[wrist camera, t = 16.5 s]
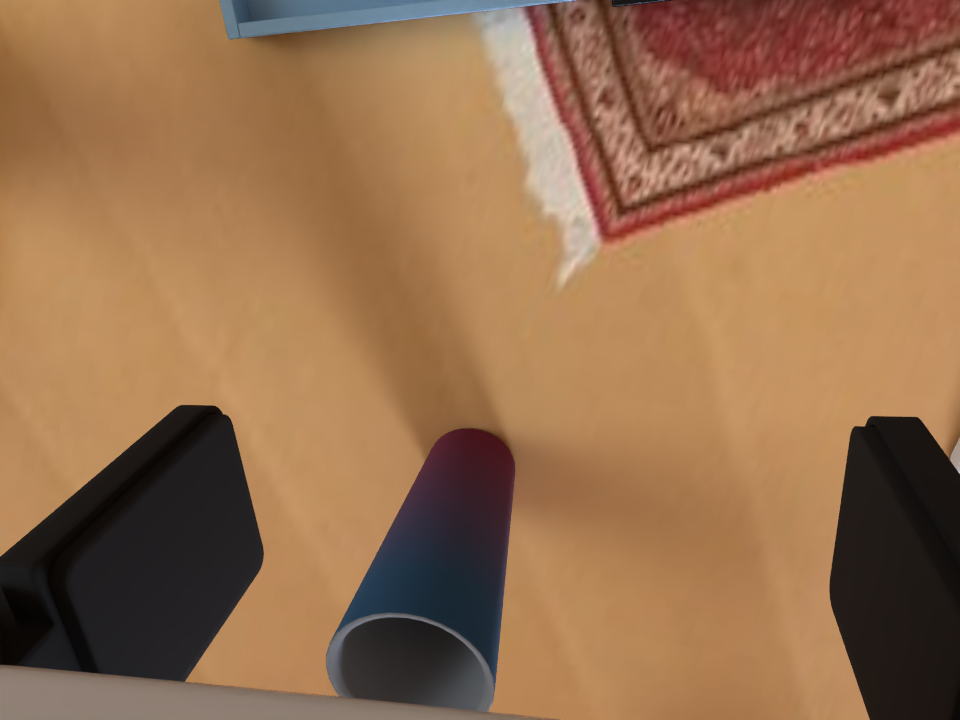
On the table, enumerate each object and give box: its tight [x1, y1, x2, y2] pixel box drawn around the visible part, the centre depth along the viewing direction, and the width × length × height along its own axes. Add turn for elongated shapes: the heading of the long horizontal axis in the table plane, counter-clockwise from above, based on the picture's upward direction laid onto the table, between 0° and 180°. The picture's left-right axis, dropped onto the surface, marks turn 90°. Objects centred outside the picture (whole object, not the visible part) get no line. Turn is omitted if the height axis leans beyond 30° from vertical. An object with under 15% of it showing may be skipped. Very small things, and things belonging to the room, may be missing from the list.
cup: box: [326, 429, 515, 712], centre depth 36 cm, size 7×7×15 cm
